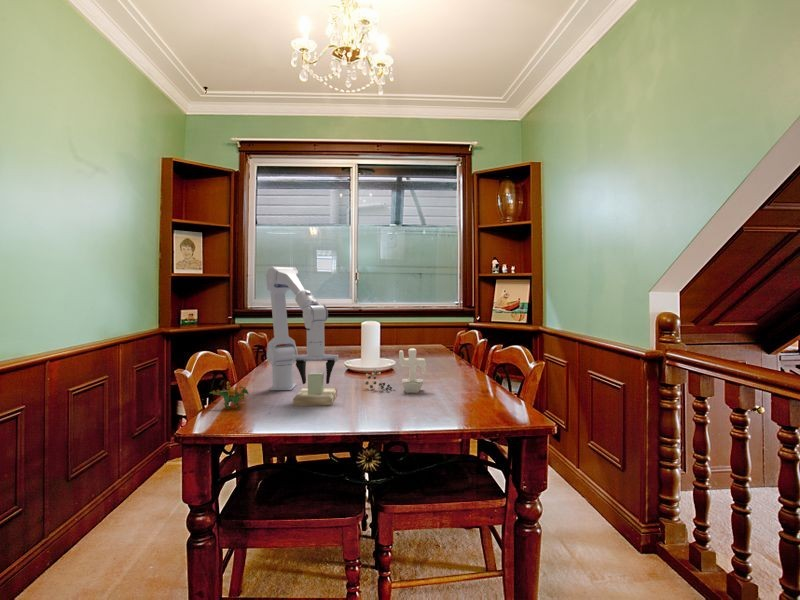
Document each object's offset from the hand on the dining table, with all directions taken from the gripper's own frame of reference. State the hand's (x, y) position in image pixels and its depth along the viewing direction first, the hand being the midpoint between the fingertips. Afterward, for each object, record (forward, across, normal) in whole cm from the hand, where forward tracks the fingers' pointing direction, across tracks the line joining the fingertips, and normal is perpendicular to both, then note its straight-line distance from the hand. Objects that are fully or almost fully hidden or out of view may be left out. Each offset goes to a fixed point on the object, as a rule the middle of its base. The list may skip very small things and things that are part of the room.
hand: (316, 383), depth 148 cm
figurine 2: (+6, +32, +11) cm, 34 cm away
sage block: (+3, 0, 0) cm, 3 cm away
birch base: (+5, 0, 0) cm, 5 cm away
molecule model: (+6, +20, +13) cm, 25 cm away
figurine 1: (+6, -25, -9) cm, 27 cm away
